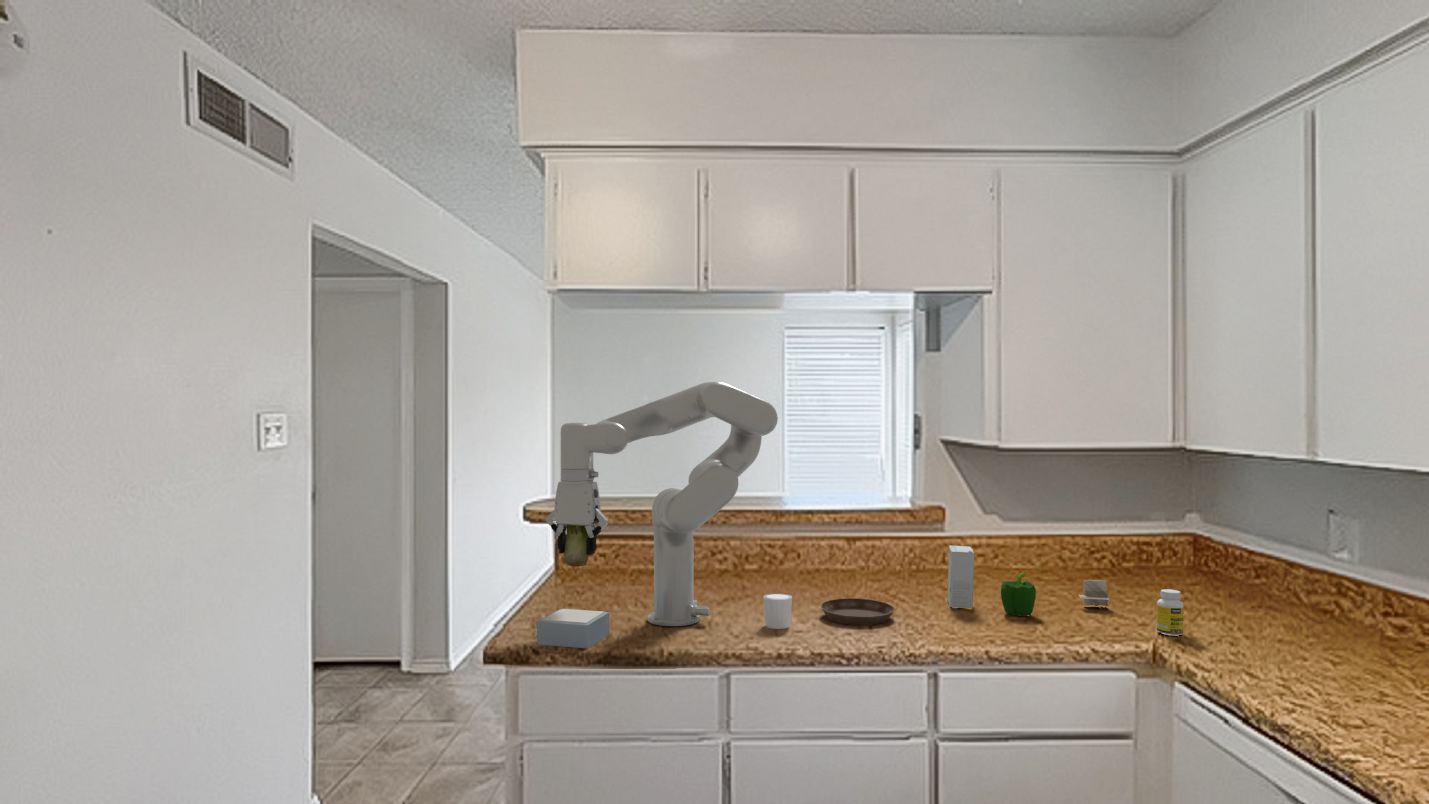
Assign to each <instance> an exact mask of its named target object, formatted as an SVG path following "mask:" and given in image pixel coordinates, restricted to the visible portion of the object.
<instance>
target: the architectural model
mask: <svg viewBox="0 0 1429 804" xmlns="http://www.w3.org/2000/svg"><path fill="white" fill-rule="evenodd" d="M1082 585H1083V587H1082V589H1083V590H1082V591H1083V594H1078V597H1079V598H1080V599H1083V600H1082V601H1083V602H1082V604H1083V605H1095V606H1098V605H1106V606H1109V607H1110V595H1109V591H1108V590H1107V580H1098V579H1096V580H1095V579H1094V580H1093V579H1092V580H1091V579H1083V583H1082ZM1083 605H1082V606H1083Z"/></svg>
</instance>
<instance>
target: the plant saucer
mask: <svg viewBox="0 0 1429 804" xmlns="http://www.w3.org/2000/svg"><path fill="white" fill-rule="evenodd" d="M820 608H821V610H822V612H823V613H824V614H825V615H826V617H827V618H828V619H829V620H831V621H832V622H835V623H839V624H844V625H851V626H872V625H879V623H880V624H882V623H885V622H887V620H889V619H890V617H891V616H892V615H893V613H894V612H895V607H894V606H893V605H891V604H889V603H888V602H887V603H886V602H883V601H879V600H877V599H876V600H875V599H868V598H852V597H850V598H848V597H847V598H836V599H831V600H827V601H824V602H822V603H821V604H820Z"/></svg>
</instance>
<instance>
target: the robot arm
mask: <svg viewBox="0 0 1429 804" xmlns="http://www.w3.org/2000/svg"><path fill="white" fill-rule="evenodd" d="M711 418H717V419H719V420H720V421H723V422H725V423H727V424H729V425H730V432H729V436H728V438H727V439H726V440H725V442H724V443H723V444H721V445H720V446H719V447H718V448H717V449H716V450H715V451H713V452H712V453H711V454H710V455H709V456H707V457H706V458H705V459H704V460H702V461H701V462H700V463H698V464H697V465H696V466H695V467H693V469H692V470H691V471H690V473H689V475H688V484H687V485H686V486H685V487H684V488H683V489H680V488H675V487H673V488H672V487H671V488H665V489H663V490H662V491H660V492H659V493H658V494H657V495H656V496H655V498H654V500H653V503H652V504H651V505H652V506H651V519H652V520H651V521H652V531H653V601H654V602H653V611H652V612H650V613H649V614H648V615H647V622H649V624H652V625H654V626H656V625H657V626H662V627H685V626H686V627H687V626H692V625H694V623H695V624H697V623H699V622H700V621H701V616H702V617H710V616H711V608H710V607H708V606H705V605H704V606H703V605H702V606H700V605H699V604H698V600H697V599H694V582H695V581H694V579H695V578H694V575H695V574H694V566H695V565H694V559H695V557H694V556H695V554H694V553H695V550H694V549H695V548H694V547H695V546H694V545H695V544H694V543H695V542H694V533H693V532H694V531H696V530H698V529H699V528H700V527H702V526H703V525H705V523H707V522H708V521H709V520H710V519H711V518H713V517H714V516H715V515H716V514H717V513H718V512H720V511H721V510H722V509H723V508H724V507H726V506H727V504H728V503H730V502H731V501H732V500H733V498H734V497H735V495H736V494H737V492H738V489H739V477H741V475H742V474H743V473H744V472H746V470H748V468H749V467H750V466H751V465H753V464H754V462H755V461H756V459H757V457H758V456H759V454H760V453H759V452H760V451H761V445H762V438H763V436H767V435H768V434H770V433H772V432H773V431H774V430H775V429H776V427H777V424H778V413H777V411H776V408H775V407H774V406H773V405H772V404H771V403H770V402H768V401H766V400H764V399H762V398H759V397H757V396H755V395H752V394H750V393H748V392H746V391H743V390H742V389H739V388H737V387H735V386H733V385H730V384H728V383H725V382H722V381H706V382H703V383H699V384H697V385H693V386H691V387H688V388H686V389H683V390H680V391H678V392H676V393H673V394H670V395H667V396H665V397H662V398H659V399H657V400H654V401H651V402H649V403H646V404H644V405H642V406H638V407H635V408H634V409H629V410H627V411H624V412H622V413H619V414H617V415H613V416H610V417H608V418H605V419H602V420H601V421H598V422H596V423H594V424H590V423H588V422H567V423H563V424H562V426H560V481H558V482H557V486H556V491H555V499H554V509H553V511H551V513H549V515H548V516H546V518H545V522H546V523H547V524H548V526H550V528H551V530H552V531H553V532H554V533H555V536H556V537H557V549H558V554H564V552H565V542H566V536H567V525H577V526H585V528H586V531H587V533H588V538H587V539H586V554H587V555H589V556H591V555H594V554H595V553H596V550H597V537H598V536H599V534H600V533H601V532H602V531H603V530H604V529H605V528H606V526H607V525H608V524H609V523H610V521H609V519H608V518H607V517H606V515H604V513H602V512H601V511H602V510H601V500H600V499H601V498H600V492H599V486H598V482H597V481H594V480H595V478H598V477H599V471H595V468H594V453H596V454H604V455H616V454H619V453H621V452H623V451H624V450H625V449H626V448H627V445H628V444H630V443H632V442H635V441H638V440H640V439H641V440H642V439H645V438H648V437H658V436H665V435H668V434H671V433H675V432H677V431H680V430H683V429H684V428H687V427H690V426H692V425H695V424H697V423H701V422H703V421H706V420H708V419H711ZM598 523H599V524H598ZM596 524H598V525H597V526H596Z"/></svg>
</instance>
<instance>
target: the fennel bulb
mask: <svg viewBox="0 0 1429 804" xmlns="http://www.w3.org/2000/svg"><path fill="white" fill-rule="evenodd" d="M566 535H567V536H566V542H565V552H564V553H563V555H564V558H563V559H564V561H565V563H566V564H567V566H569V567H575V568H576V567H578V568H579V567H583V566H586V565H587V562H588V560H589V556H590V555H587V554H586V539H587V538H588V533H587V531H586V528H585V526H577V525H567V531H566Z"/></svg>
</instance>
